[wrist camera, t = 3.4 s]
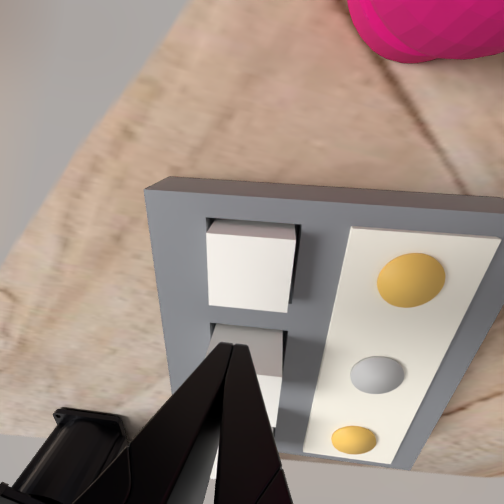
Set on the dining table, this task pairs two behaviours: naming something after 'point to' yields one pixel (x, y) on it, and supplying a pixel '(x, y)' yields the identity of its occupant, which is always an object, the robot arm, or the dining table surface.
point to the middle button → (258, 358)
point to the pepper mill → (430, 28)
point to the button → (250, 264)
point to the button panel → (343, 304)
